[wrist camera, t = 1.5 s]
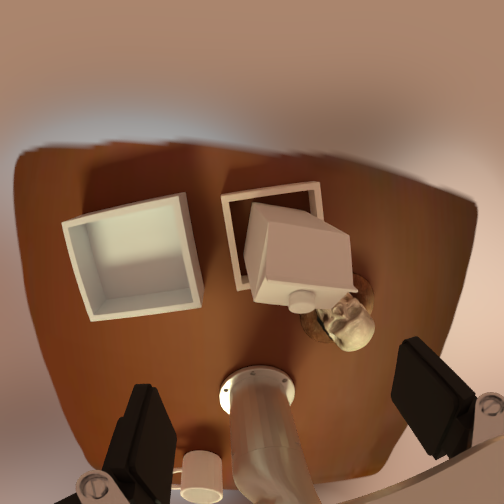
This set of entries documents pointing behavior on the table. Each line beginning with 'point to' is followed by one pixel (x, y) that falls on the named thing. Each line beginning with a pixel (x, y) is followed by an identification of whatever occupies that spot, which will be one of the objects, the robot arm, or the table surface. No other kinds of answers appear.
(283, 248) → the milk carton
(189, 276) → the tub
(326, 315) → the skull
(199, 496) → the mug
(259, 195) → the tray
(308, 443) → the table surface
